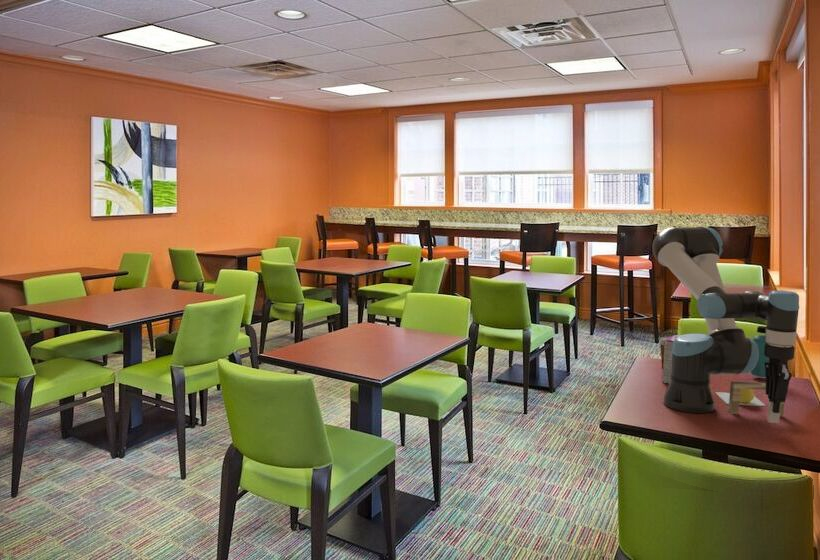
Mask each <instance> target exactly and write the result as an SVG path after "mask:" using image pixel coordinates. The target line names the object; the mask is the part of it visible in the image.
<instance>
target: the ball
mask: <svg viewBox="0 0 820 560" xmlns="http://www.w3.org/2000/svg"><path fill="white" fill-rule="evenodd" d="M754 396H755V397H756V395H755V389H745V388H741V390H740V402H743V403H748V402H750V401H752V400H753V399H754Z"/></svg>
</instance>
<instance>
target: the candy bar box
mask: <svg viewBox="0 0 820 560" xmlns="http://www.w3.org/2000/svg"><path fill="white" fill-rule="evenodd" d="M678 336H681V335H679V334H674V335H672V336H669V337H670V338H668V339H666V340H664V361H663V368H662V380H661V381H662V382H661V383H663V382H664V383H663V384H666V383H668V384H667V385H669V383H670V381H671V368H672V349H673V343H674V340H675V339H676V338H677V337H678Z"/></svg>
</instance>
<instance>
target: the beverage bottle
mask: <svg viewBox="0 0 820 560" xmlns="http://www.w3.org/2000/svg"><path fill="white" fill-rule="evenodd" d="M756 332H757V333H759V334H756V335H755V336H753V338H752V339H753V340H754V341H755V342H756V344H757V346H758V350H759V358H758V361H757V365H756V366H755V368H754V369H753V370H752V371H750V374H751V375H752V376H754V377H760V378H766V376H765V364H764V363H765V362H769V358H768V357H766V356H765V355H764V349H765V344H766V343H767V342H766V341H765V334H766V325H765V326H763V325H762V326H761V325H759V326H757V328H756Z"/></svg>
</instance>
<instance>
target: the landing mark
mask: <svg viewBox="0 0 820 560" xmlns="http://www.w3.org/2000/svg"><path fill="white" fill-rule="evenodd" d="M714 393H715V394H716V395H717V396H718V397H719V398H720V399H721V400H722V401H723V402H724V403H725V404H726V405H729V398H730V392H723V391H718V392H717V391H715V392H714ZM739 406H753V407H754V406H755V407H757V406H758V407H767V406H766V404H765V403H763V402H762V401H761V400H760V399H758V398H757V397H756V395H755V396H754V399H753V400H752V401H750V402H748V403H743V402H739Z"/></svg>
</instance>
